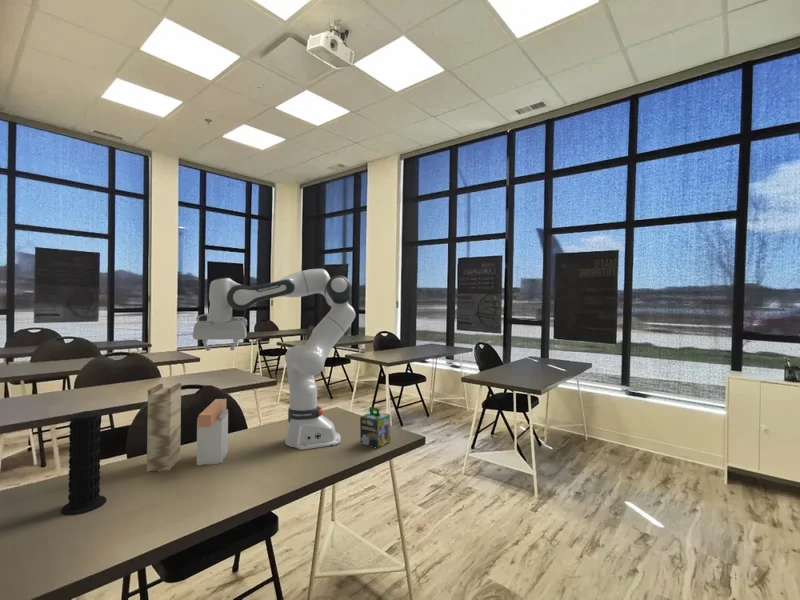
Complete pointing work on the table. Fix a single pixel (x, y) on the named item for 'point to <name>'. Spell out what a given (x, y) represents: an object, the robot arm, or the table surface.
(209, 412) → the shaft
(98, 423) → the handle grip
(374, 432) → the chalk box
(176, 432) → the block
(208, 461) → the yoke block
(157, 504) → the table surface
